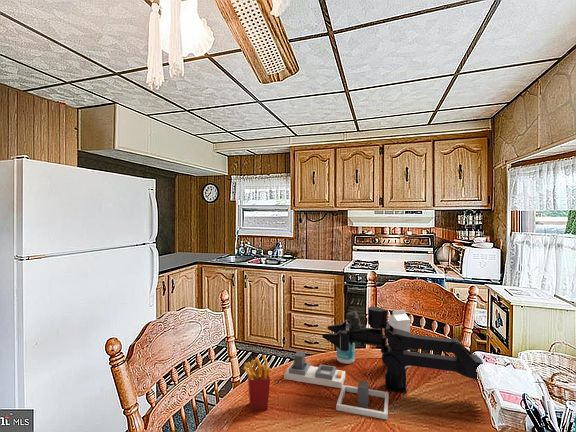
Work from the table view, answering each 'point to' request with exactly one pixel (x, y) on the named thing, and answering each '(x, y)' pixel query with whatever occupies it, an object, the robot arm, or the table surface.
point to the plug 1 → (299, 360)
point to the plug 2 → (363, 394)
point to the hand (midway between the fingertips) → (325, 331)
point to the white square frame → (362, 410)
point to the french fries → (258, 384)
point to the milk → (400, 321)
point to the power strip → (317, 375)
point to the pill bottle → (346, 355)
